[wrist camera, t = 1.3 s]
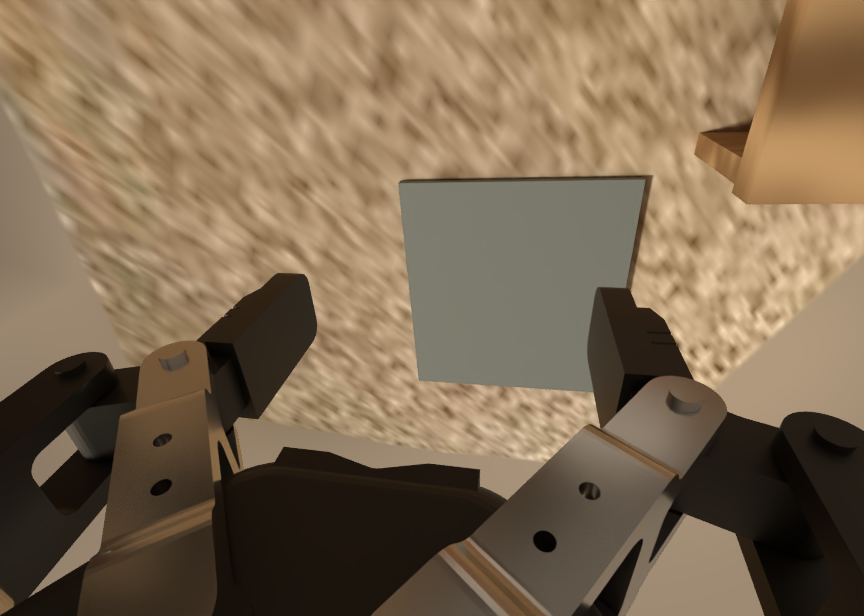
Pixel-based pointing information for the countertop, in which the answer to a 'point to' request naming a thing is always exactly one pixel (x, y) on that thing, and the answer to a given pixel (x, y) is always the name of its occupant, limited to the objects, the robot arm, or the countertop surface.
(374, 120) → the countertop surface
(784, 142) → the tan wooden block
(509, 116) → the countertop surface
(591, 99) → the countertop surface
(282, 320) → the robot arm
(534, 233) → the mat
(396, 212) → the countertop surface
